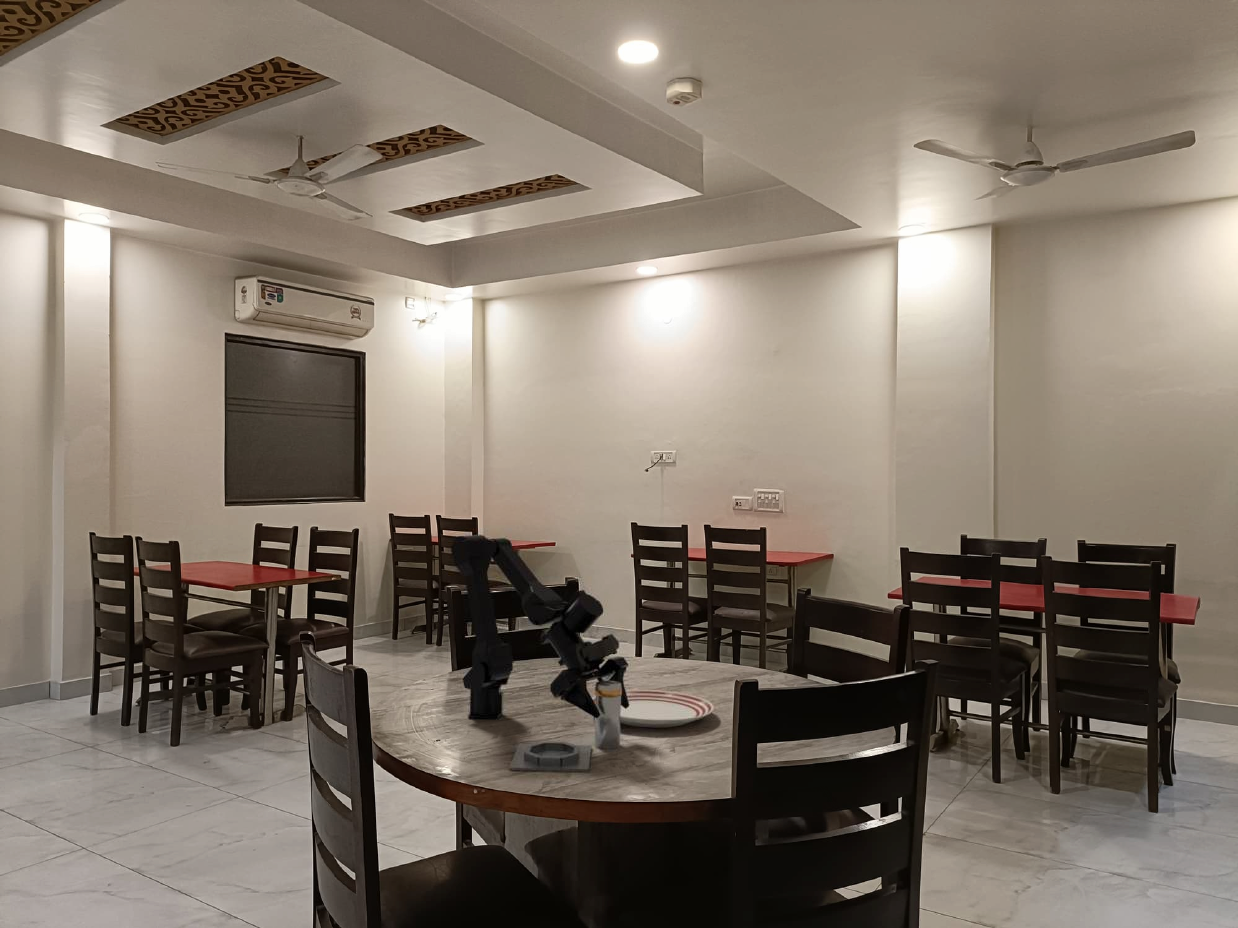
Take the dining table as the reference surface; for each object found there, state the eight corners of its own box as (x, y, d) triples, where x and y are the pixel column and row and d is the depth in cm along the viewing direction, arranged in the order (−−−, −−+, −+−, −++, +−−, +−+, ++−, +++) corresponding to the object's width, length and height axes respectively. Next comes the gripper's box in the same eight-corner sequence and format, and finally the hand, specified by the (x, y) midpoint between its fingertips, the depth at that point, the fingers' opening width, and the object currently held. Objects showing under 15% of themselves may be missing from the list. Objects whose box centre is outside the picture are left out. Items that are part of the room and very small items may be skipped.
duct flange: (509, 770, 160) (509, 760, 160) (518, 746, 174) (519, 737, 174) (588, 771, 160) (588, 762, 160) (591, 747, 174) (591, 739, 174)
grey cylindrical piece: (593, 748, 173) (594, 686, 174) (594, 740, 179) (595, 680, 179) (620, 749, 173) (621, 686, 173) (620, 741, 179) (621, 680, 179)
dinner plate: (640, 695, 217) (640, 681, 217) (737, 716, 200) (738, 701, 200) (562, 717, 196) (562, 702, 196) (663, 743, 179) (663, 726, 179)
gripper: (562, 628, 171) (607, 695, 164) (621, 616, 186) (665, 678, 179) (531, 664, 176) (573, 731, 169) (591, 650, 191) (632, 711, 184)
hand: (613, 711), depth 175 cm, fingers open, 9 cm apart
